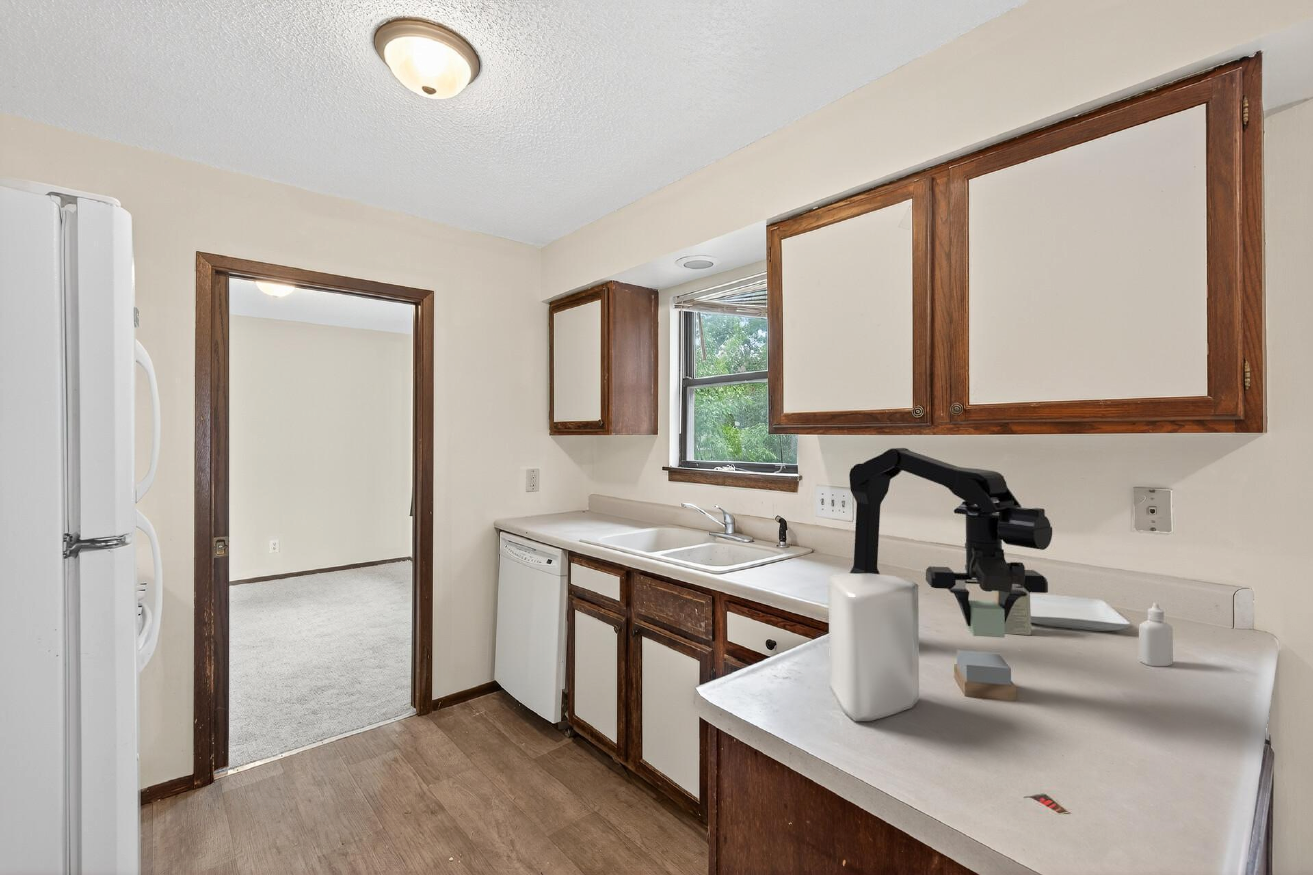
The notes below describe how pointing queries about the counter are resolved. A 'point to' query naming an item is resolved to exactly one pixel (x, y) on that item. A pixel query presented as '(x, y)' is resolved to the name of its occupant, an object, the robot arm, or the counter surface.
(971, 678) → the blue-grey square block
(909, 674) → the white triangular prism
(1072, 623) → the salad plate
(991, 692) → the tower base
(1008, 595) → the robot arm
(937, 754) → the counter surface
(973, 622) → the stack block
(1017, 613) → the skincare box
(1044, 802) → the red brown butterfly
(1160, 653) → the eye dropper bottle
